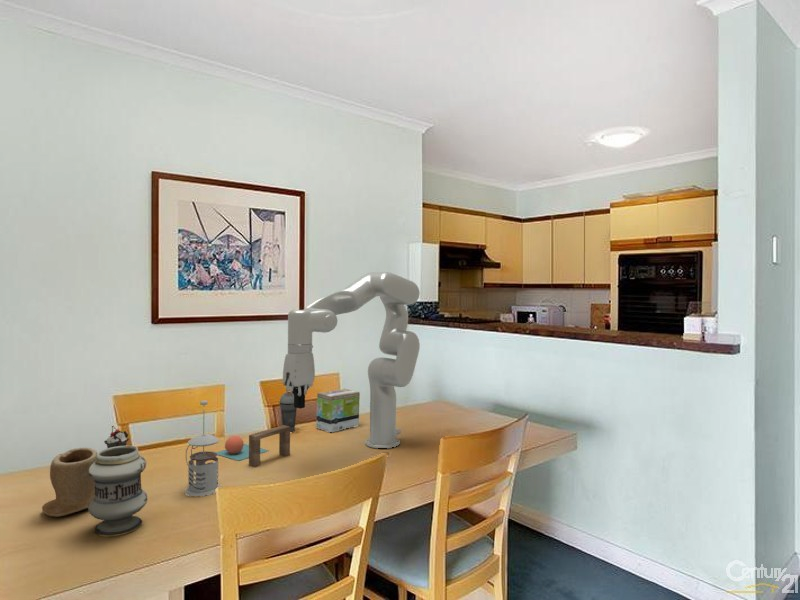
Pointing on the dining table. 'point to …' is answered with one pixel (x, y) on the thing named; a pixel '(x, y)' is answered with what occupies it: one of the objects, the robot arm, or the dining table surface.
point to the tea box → (337, 410)
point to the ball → (234, 444)
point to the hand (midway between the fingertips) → (299, 407)
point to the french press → (202, 465)
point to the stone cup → (71, 482)
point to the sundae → (117, 439)
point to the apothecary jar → (117, 490)
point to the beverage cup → (288, 410)
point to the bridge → (255, 438)
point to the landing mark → (241, 455)
